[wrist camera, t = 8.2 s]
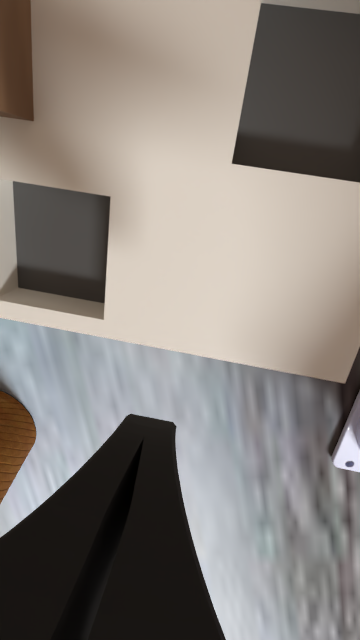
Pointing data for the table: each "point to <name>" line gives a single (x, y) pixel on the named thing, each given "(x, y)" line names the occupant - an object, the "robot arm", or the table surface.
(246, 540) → the table surface
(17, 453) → the disposable coffee cup
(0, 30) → the walnut block
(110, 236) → the trap board
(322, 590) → the table surface
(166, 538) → the robot arm
